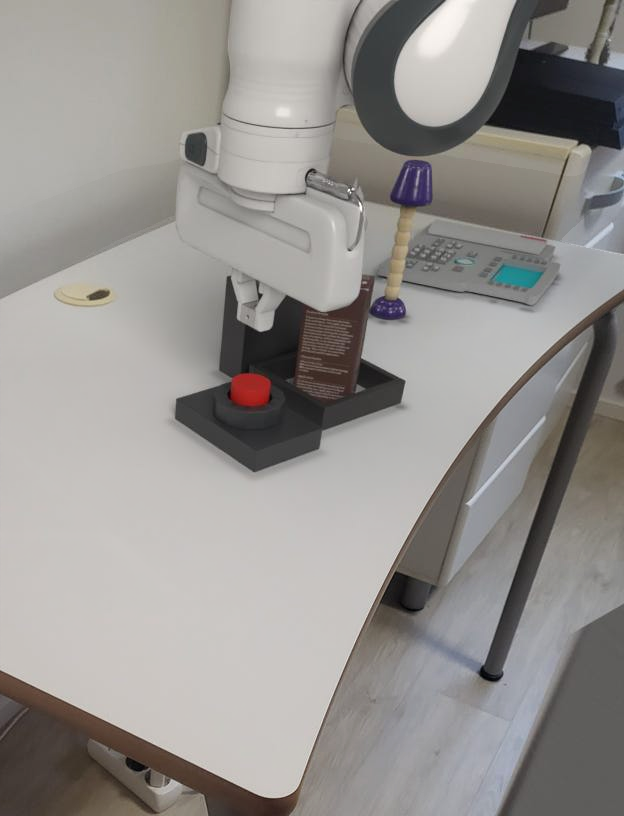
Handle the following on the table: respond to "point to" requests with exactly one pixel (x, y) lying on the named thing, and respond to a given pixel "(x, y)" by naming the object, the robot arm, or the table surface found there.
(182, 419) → the block
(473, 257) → the office telephone
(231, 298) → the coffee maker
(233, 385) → the power button
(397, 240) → the toy lamp
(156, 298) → the table surface
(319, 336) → the box
